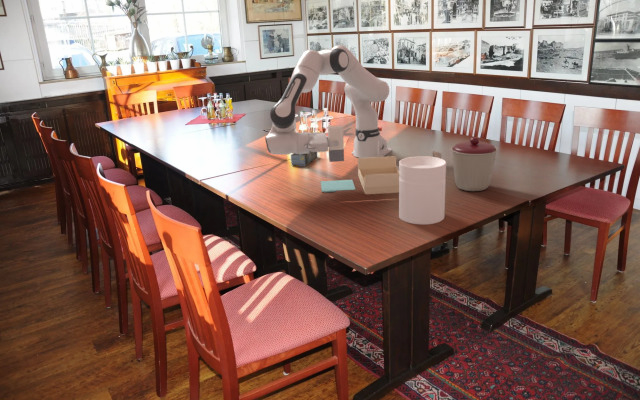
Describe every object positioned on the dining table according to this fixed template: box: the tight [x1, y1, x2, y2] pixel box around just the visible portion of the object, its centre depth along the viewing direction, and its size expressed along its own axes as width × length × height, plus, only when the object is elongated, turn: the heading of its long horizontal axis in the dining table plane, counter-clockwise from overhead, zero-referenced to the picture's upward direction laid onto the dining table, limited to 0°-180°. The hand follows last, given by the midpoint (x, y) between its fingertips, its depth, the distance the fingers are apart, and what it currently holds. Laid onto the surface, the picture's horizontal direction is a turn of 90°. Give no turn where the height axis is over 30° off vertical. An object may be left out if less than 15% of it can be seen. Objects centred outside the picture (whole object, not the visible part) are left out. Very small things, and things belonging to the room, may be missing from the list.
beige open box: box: [357, 155, 399, 195], centre depth 222 cm, size 17×27×8 cm, turn 2°
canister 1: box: [398, 155, 447, 225], centre depth 183 cm, size 16×16×20 cm
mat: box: [320, 179, 356, 193], centre depth 223 cm, size 14×14×1 cm
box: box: [327, 125, 345, 163], centre depth 217 cm, size 6×5×14 cm
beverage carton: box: [290, 150, 318, 167], centre depth 265 cm, size 8×19×7 cm, turn 162°
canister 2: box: [450, 136, 499, 192], centre depth 210 cm, size 18×18×21 cm
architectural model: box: [431, 150, 442, 159], centre depth 244 cm, size 3×7×7 cm, turn 31°
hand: (338, 141), depth 217 cm, fingers closed on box, 5 cm apart
